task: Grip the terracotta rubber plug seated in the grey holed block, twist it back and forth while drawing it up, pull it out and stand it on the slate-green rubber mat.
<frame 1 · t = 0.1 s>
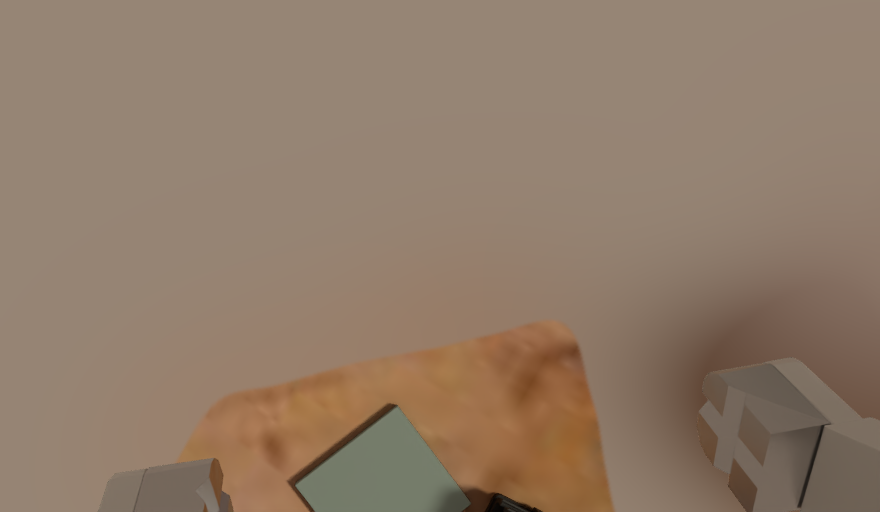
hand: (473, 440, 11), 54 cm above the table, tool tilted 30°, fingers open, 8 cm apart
mat: (384, 492, 65), on the table
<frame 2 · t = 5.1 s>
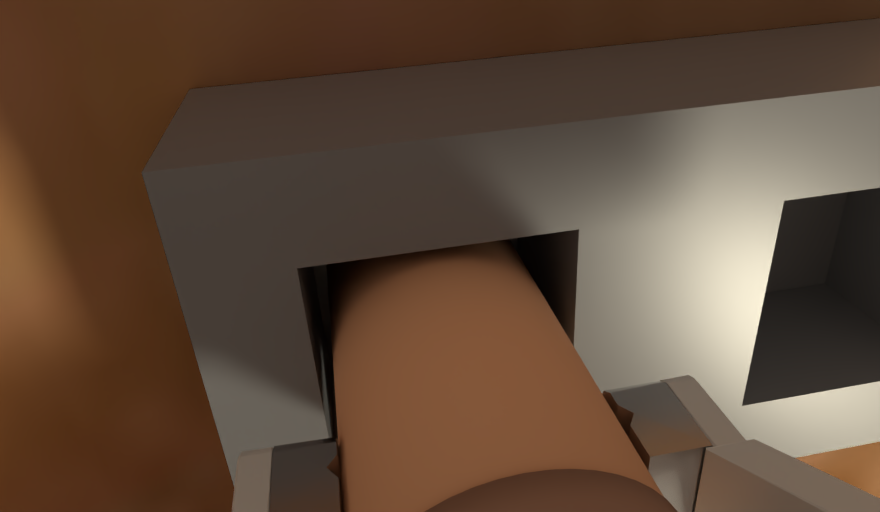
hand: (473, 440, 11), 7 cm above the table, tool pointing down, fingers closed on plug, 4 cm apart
plug: (418, 263, 16), point 1 cm above the table, touching gripper, grey holed block
grey holed block: (579, 221, 18), on the table
when the fingers open (8 cm above the table, at t = 14.2 s): plug drops 1 cm, resting on mat.
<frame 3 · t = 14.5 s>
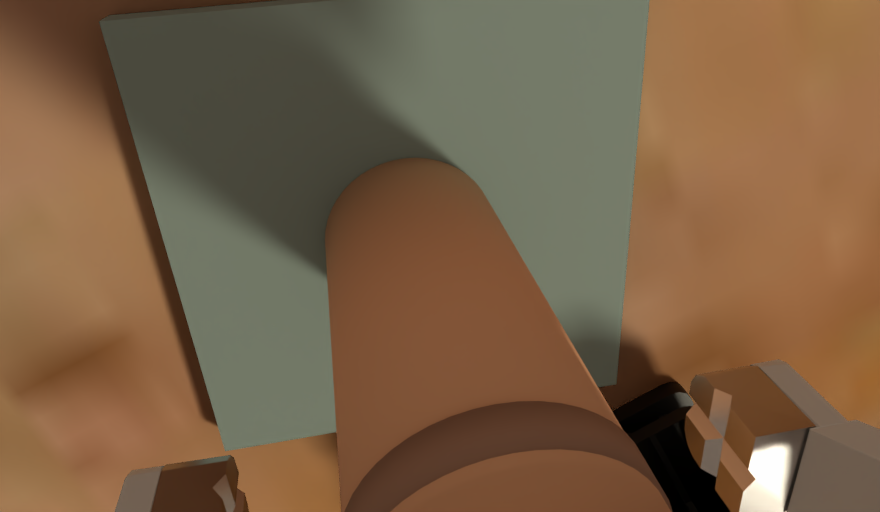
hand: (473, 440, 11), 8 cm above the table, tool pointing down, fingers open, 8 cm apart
mat: (408, 227, 18), on the table
plug: (411, 238, 17), point 1 cm above the table, touching mat
end cap: (593, 490, 25), on the table
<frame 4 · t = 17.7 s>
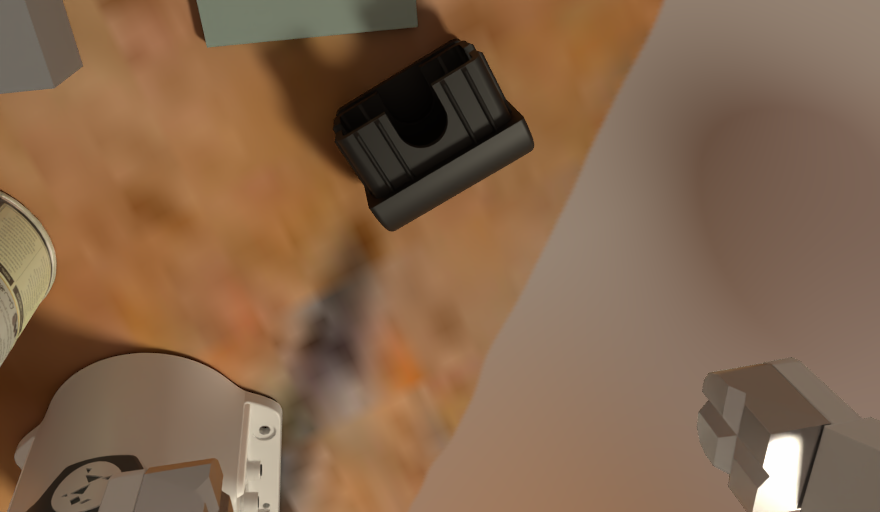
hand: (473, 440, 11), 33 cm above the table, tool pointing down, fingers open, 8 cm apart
end cap: (422, 121, 43), on the table
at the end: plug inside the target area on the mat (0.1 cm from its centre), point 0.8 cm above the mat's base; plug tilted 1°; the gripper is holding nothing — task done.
